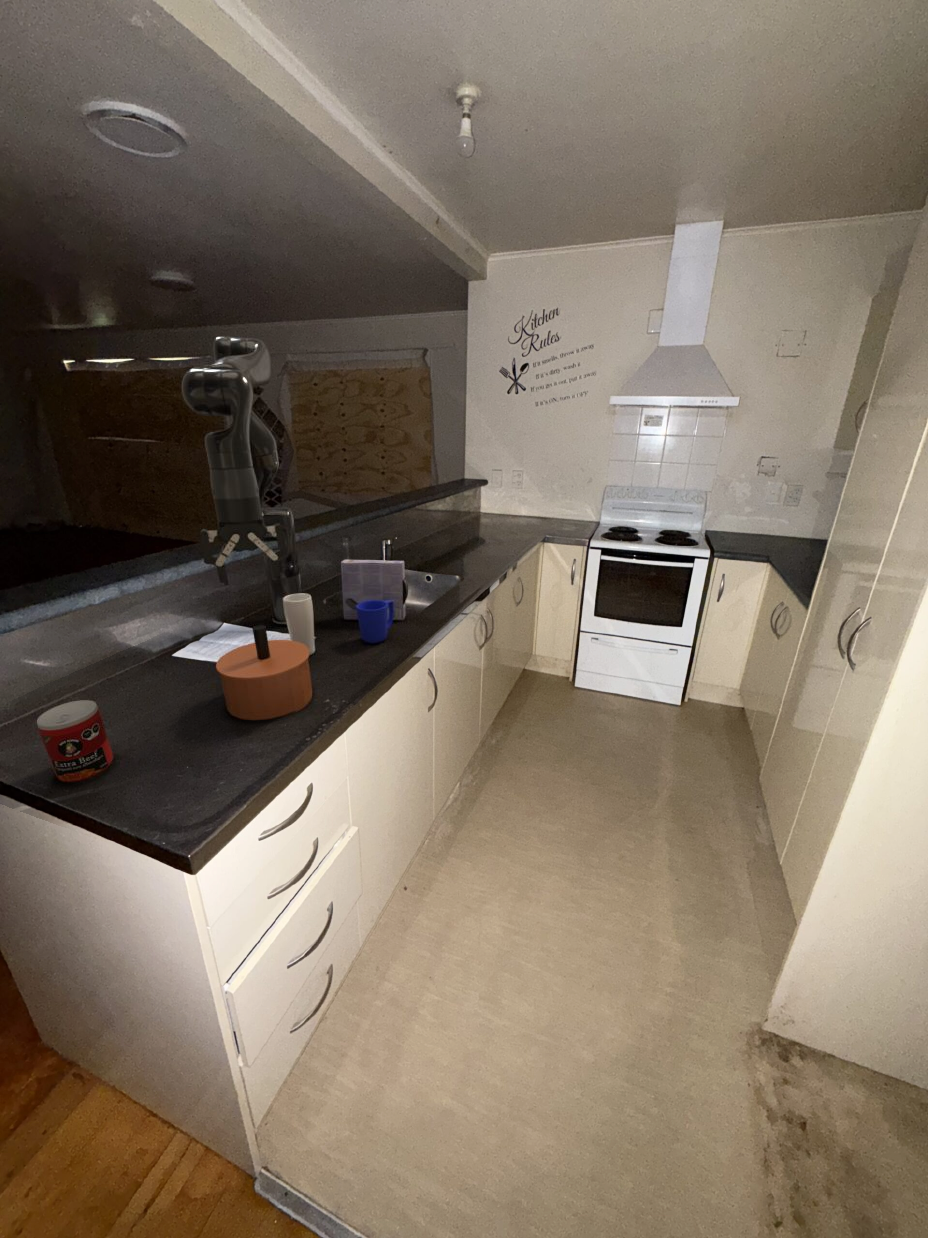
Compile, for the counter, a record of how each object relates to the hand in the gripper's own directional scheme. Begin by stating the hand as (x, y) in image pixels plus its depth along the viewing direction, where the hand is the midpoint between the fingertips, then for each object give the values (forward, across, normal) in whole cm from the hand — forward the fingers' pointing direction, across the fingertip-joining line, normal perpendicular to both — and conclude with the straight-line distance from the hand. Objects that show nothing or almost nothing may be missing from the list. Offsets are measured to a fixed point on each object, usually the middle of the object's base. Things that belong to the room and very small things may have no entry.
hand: (250, 581), depth 92 cm
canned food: (+26, +30, +10) cm, 41 cm away
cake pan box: (+26, -34, -37) cm, 57 cm away
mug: (+26, -30, -22) cm, 46 cm away
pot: (+26, 0, 0) cm, 26 cm away
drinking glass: (+26, -10, -21) cm, 35 cm away
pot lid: (+16, 0, 0) cm, 17 cm away
